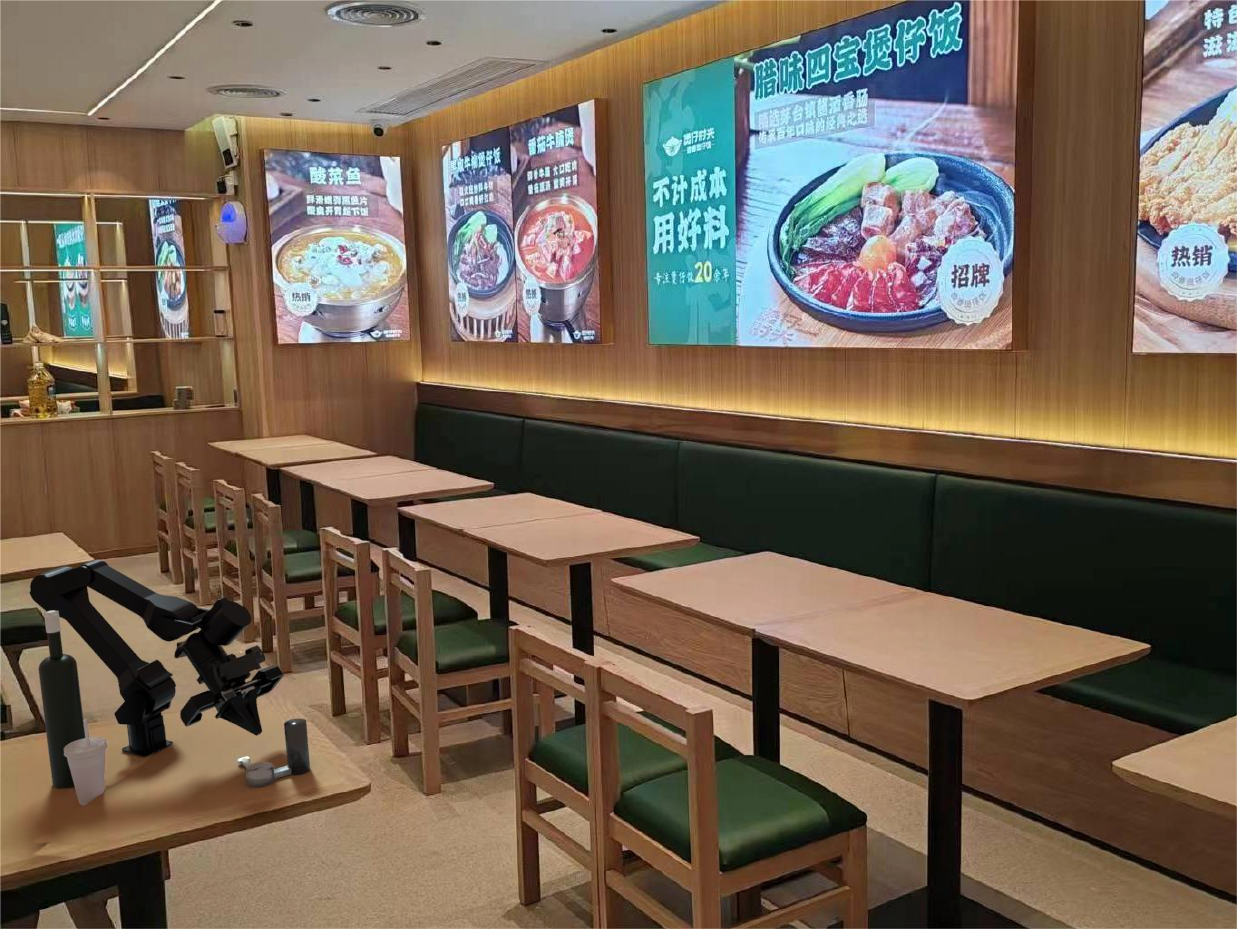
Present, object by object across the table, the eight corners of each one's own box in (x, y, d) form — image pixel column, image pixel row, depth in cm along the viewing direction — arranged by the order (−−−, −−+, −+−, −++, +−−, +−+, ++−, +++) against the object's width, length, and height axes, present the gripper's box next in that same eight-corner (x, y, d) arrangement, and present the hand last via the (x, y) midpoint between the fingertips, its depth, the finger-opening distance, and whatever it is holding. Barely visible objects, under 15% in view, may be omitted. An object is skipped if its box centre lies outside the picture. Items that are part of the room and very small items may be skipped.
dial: (252, 789, 181) (247, 740, 179) (230, 766, 190) (225, 719, 188) (314, 771, 187) (310, 723, 185) (290, 750, 196) (286, 704, 195)
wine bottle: (90, 783, 188) (70, 613, 183) (52, 791, 186) (31, 618, 181) (89, 771, 193) (70, 604, 188) (52, 778, 191) (32, 610, 186)
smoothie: (96, 810, 178) (86, 728, 176) (61, 808, 179) (50, 726, 177) (121, 792, 184) (112, 712, 182) (87, 790, 185) (77, 711, 183)
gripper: (185, 651, 183) (235, 727, 179) (273, 621, 199) (321, 690, 195) (158, 688, 189) (207, 763, 185) (246, 656, 204) (292, 724, 200)
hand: (259, 733), depth 191 cm, fingers closed
